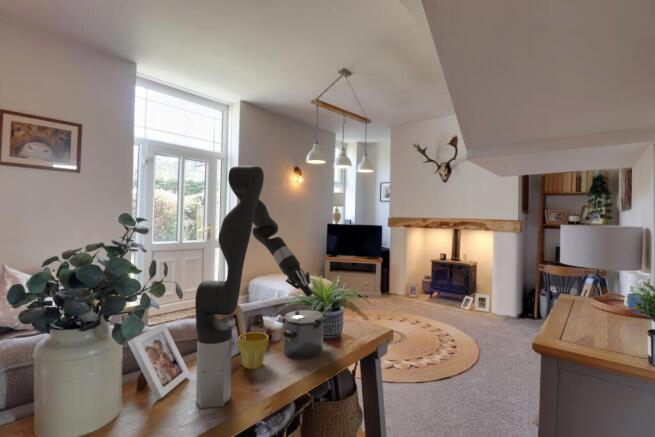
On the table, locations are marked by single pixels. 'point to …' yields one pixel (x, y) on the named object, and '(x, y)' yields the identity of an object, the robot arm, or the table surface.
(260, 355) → the plant pot
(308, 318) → the cooker lid
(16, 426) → the table surface
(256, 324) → the figurine
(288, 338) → the cooker pot
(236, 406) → the table surface
